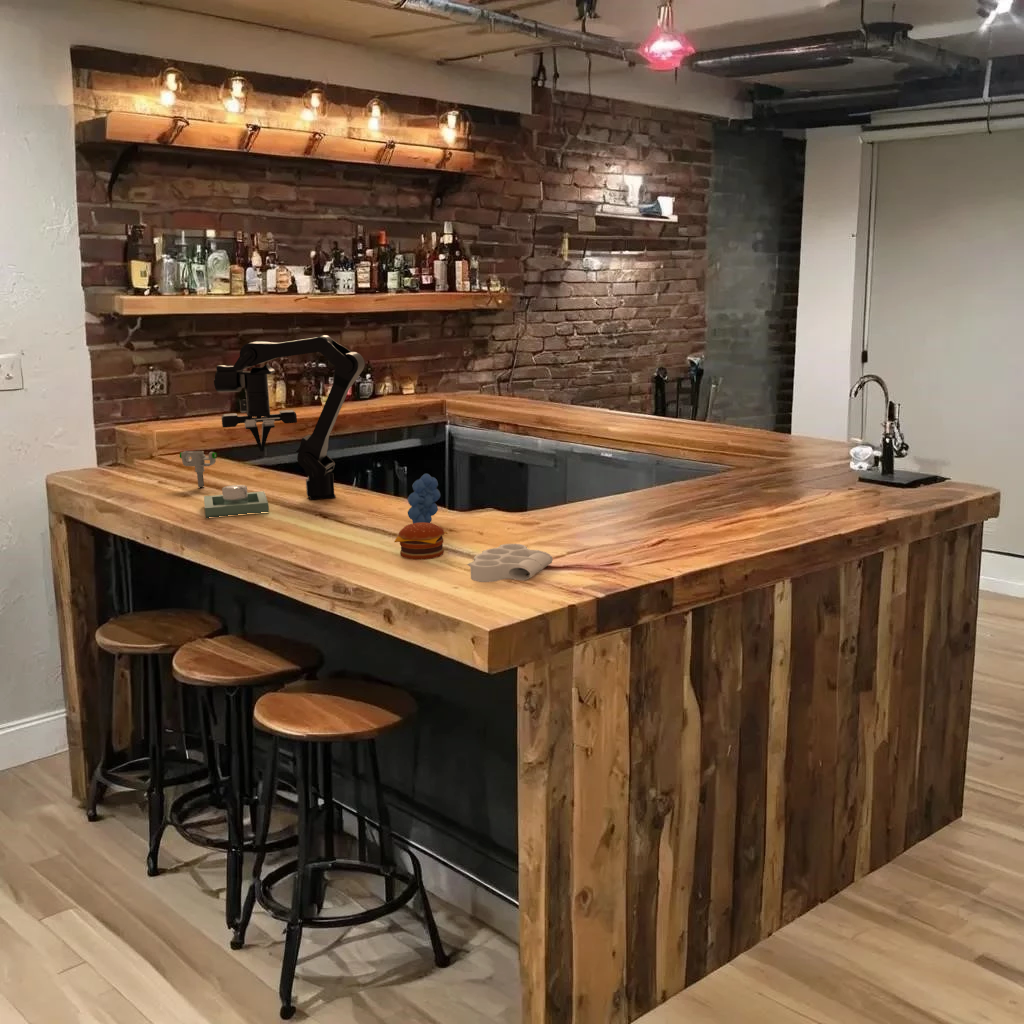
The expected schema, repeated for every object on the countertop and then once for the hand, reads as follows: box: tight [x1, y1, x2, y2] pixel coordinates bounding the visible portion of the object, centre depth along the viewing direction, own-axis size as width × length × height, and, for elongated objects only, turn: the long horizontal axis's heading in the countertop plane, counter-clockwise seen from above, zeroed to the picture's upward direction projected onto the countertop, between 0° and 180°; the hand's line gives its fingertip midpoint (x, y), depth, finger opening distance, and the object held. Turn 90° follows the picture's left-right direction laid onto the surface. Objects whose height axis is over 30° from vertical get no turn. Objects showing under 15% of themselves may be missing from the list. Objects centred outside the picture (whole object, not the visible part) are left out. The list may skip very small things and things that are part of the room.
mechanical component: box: [179, 450, 218, 488], centre depth 309 cm, size 3×10×10 cm, turn 79°
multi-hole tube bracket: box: [466, 543, 554, 583], centre depth 220 cm, size 3×18×15 cm
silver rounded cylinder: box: [221, 484, 248, 505], centre depth 281 cm, size 6×6×5 cm
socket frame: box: [203, 490, 270, 519], centre depth 281 cm, size 15×15×3 cm
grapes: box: [407, 473, 441, 524], centre depth 257 cm, size 12×7×12 cm, turn 151°
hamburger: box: [393, 522, 449, 561], centre depth 233 cm, size 9×10×7 cm
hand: (261, 451), depth 293 cm, fingers closed
